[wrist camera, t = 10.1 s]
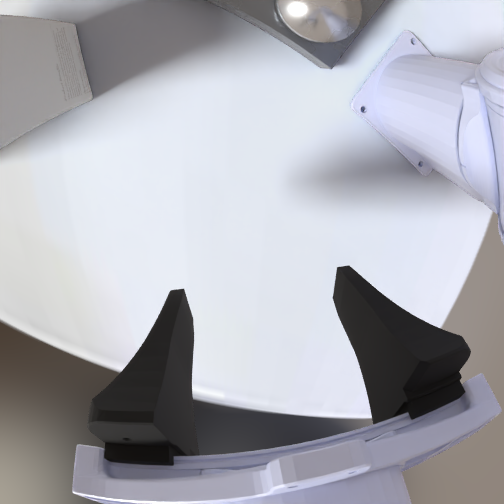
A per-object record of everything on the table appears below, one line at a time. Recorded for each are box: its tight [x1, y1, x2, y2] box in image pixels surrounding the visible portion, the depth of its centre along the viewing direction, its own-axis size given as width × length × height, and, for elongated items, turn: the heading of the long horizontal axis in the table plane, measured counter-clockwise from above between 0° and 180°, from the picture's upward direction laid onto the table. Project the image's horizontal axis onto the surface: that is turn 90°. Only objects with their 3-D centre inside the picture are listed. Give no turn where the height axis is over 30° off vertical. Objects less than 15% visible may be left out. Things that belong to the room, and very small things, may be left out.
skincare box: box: [0, 15, 93, 149], centre depth 9 cm, size 6×4×12 cm
